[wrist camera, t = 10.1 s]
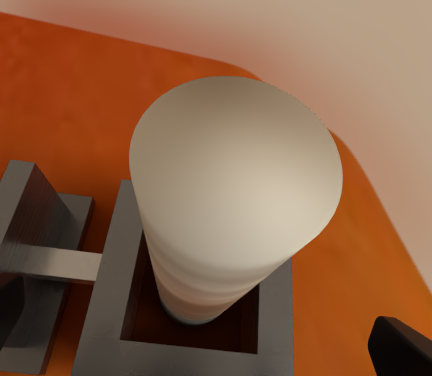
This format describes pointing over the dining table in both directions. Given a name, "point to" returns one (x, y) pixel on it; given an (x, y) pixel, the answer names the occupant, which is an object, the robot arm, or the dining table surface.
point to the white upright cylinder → (228, 189)
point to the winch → (115, 291)
